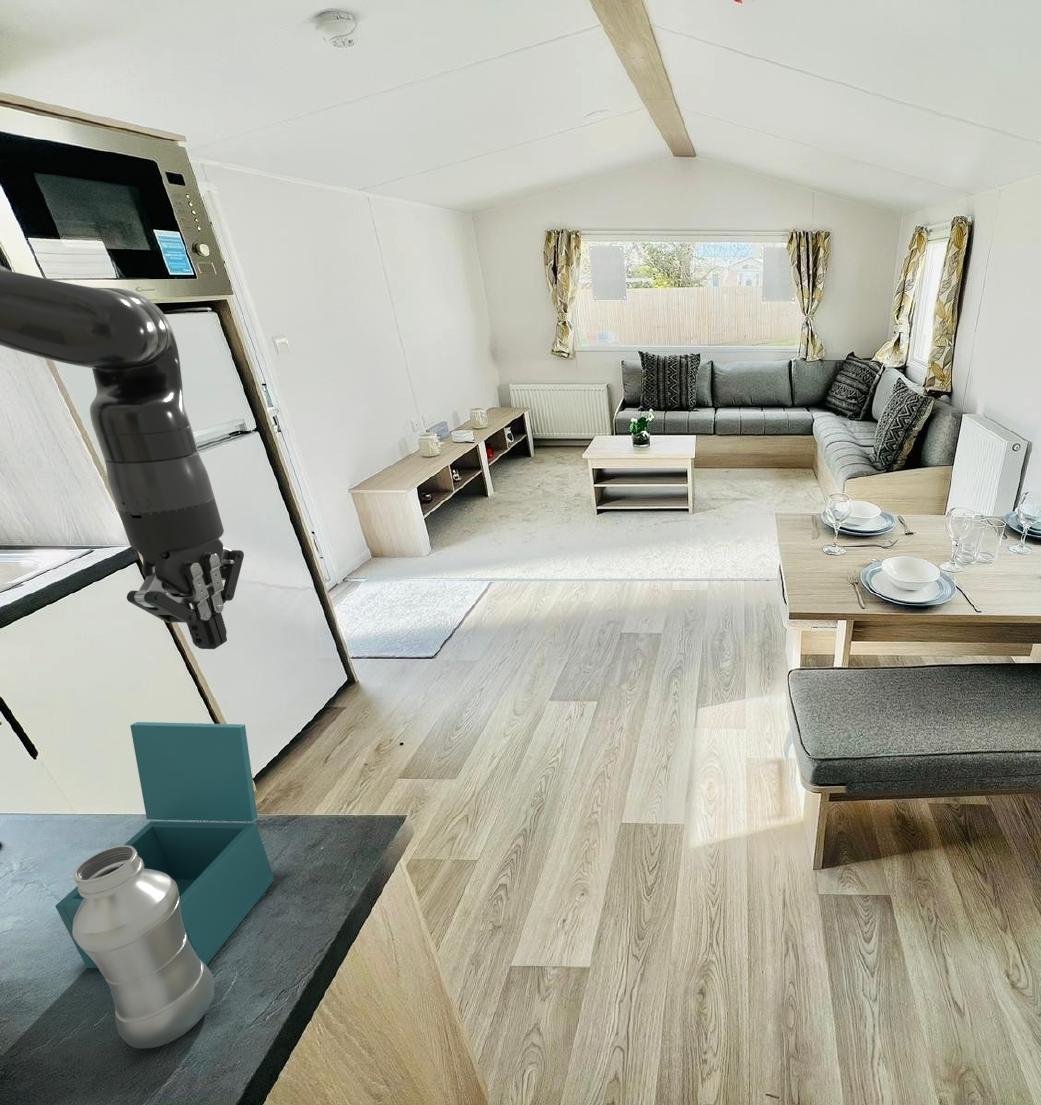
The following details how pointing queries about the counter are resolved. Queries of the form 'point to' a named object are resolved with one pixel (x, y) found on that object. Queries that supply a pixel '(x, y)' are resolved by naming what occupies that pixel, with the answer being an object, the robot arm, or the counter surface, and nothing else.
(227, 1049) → the counter surface
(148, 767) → the cool box lid
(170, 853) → the cool box
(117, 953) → the silver metal bottle
